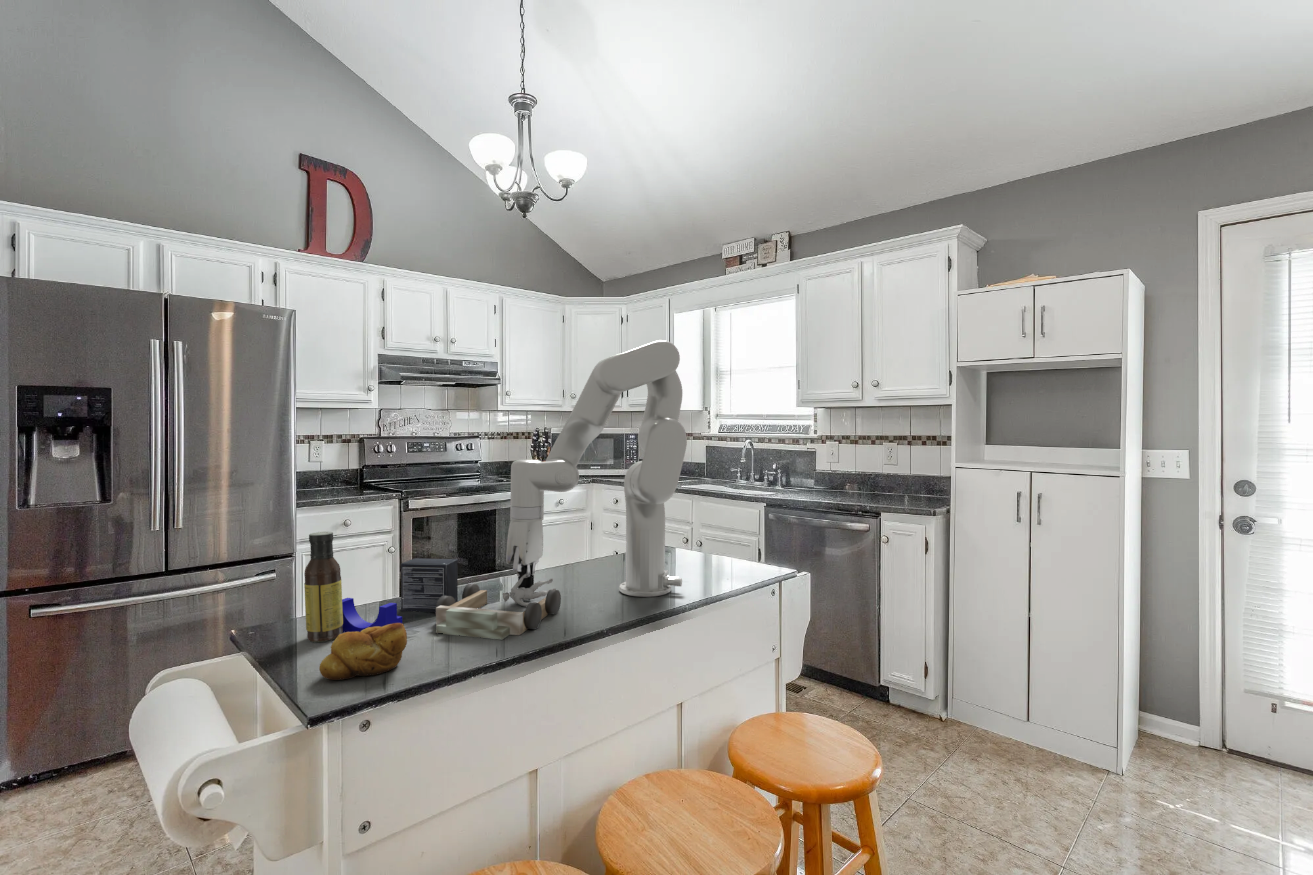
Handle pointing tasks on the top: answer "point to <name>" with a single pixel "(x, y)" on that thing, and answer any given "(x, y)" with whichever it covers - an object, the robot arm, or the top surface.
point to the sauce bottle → (323, 590)
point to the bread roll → (365, 652)
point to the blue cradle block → (356, 623)
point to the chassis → (489, 615)
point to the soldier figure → (526, 592)
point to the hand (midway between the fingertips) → (525, 592)
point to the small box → (427, 583)
